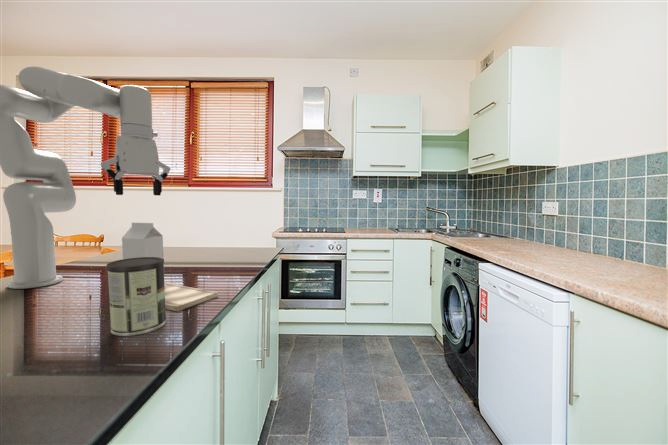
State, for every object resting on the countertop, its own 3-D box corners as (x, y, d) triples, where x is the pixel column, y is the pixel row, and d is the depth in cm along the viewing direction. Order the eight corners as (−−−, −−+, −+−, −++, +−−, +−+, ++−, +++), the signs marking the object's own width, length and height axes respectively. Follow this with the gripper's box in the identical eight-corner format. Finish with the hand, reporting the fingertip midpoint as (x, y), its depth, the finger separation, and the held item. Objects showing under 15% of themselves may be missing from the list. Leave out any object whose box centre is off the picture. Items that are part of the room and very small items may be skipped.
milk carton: (145, 293, 86) (142, 224, 85) (124, 291, 88) (121, 223, 86) (164, 285, 93) (162, 222, 92) (144, 284, 95) (141, 221, 93)
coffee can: (142, 314, 74) (140, 255, 73) (177, 320, 71) (175, 258, 70) (97, 332, 64) (93, 264, 63) (134, 340, 61) (131, 268, 60)
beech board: (115, 297, 86) (115, 292, 86) (159, 285, 98) (159, 281, 98) (177, 311, 76) (177, 306, 76) (217, 296, 88) (217, 291, 88)
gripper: (162, 139, 97) (164, 195, 98) (94, 129, 83) (97, 194, 84) (174, 137, 92) (176, 195, 94) (105, 126, 78) (107, 194, 80)
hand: (139, 195), depth 89 cm, fingers open, 9 cm apart
